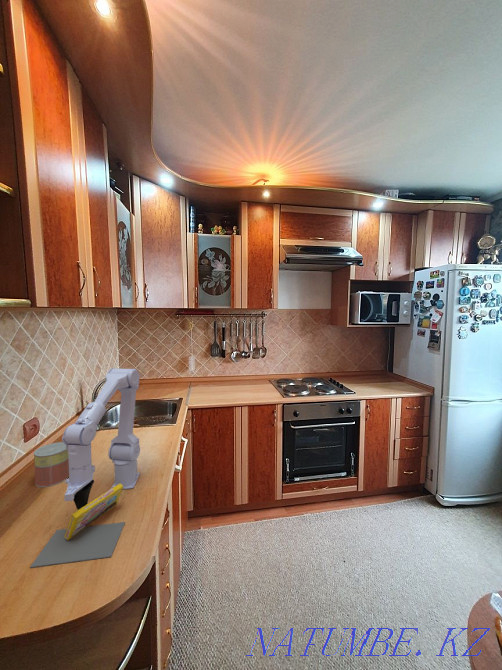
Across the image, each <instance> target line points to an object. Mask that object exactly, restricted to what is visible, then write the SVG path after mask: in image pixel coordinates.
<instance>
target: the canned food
mask: <svg viewBox="0 0 502 670" xmlns="http://www.w3.org/2000/svg"><path fill="white" fill-rule="evenodd" d="M33 461H34V463H33V464H34V478H35V479H34V482H35V483H34V485H35V486H36V487H38V488H47V487H53V486H56V485H59V484H61V483H63V482H65V481H66V480H67V478H68V477H69V460H68V450H67V449H66V445H65V444H64V443H63V441H59V442H53V443H52V442H51V443H48V444H46V445H42V446H40V447H39V448H37V449H35V451H33Z"/></svg>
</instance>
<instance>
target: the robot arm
mask: <svg viewBox="0 0 502 670" xmlns="http://www.w3.org/2000/svg"><path fill="white" fill-rule="evenodd" d="M104 381H105V382H104V383H103V384H104V385H102V388H101V390H100V391H99V393H98V395H97V396H96V398H95V400H94V401H92V402H89V403H88V404H87V405H86V406H85V408H84V410H82V412H81V414H80V415H79V416H78V417H77V419H76V420H75V422H74V423H72V424H70V425H68V426H67V427H66V428H65V430H64V432H63V435H62V437H61V442H63V443H64V444H65V445H66V449H67V450H68V460H69V478H68V479H66V480H65V481H64V484H65V485H67V488H66V491H65V493H64V495H63V496H64V502H71V501H73V502H74V505H75V507H76V509H77V510H76V511H78V510H79V509H81V508H82V507H84V506H85V505H87V504H88V503H89V498H90V494H91V490H92V488H93V485H94V483H95V479H94V473H95V471H96V466H95V464H94V465H93V462H92V459H93V458H92V441H94V440H95V438H96V432H97V429H98V425H99V422H100V421H101V420H102V418H103V416H104V415H105V413H106V411H107V410H106V405H107V404H108V402H110V400H111V399H112V397H114V395H115V393H116V392H117V391H119V392H120V394H121V395H120V407H119V419H118V430H117V436H115V437H113V438H112V439H111V441H110V446H109V448H108V453H107V455H108V458H109V460H111V462H112V463H113V466H114V467H113V468H114V469H113V470H114V483H112V484H113V485H112V486H111V487H110V489H112V488H113V487H115V486H116V485H118V484H120V483H121V484H122V485H123V489H122V490H126V489H127V490H128V489H129V490H130V489H134V488H135V486H136V484H137V482H138V479H139V477H140V475H141V473H140V472H138V458H139V456H140V452H141V447H140V438H139V437H137V436H136V435H135V434H134V433H133V432H134V424H135V421H134V420H135V412H136V411H135V410H136V397H137V390H139V386H140V373H139V371H138V369H136V368H115V367H111V368H110V369H108V371H107V374H105V377H104Z"/></svg>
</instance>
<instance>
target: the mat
mask: <svg viewBox="0 0 502 670" xmlns="http://www.w3.org/2000/svg"><path fill="white" fill-rule="evenodd" d="M125 523H126V521H120V522H113V523H104V524H95V525H89V526H87V527H86V528H84V529H83V530H82V531H80V532H79V533H77V534H76V535H75V536H73V537H72V538H70V539H69V540H67V539H66V538H65V537H64V536H65V534H66V531H67V528H61V529H56V530H55V531H54V533H53V534H52V536H51V537H50V539H49V540H48V541H47V543H46V544H45V545H44V547H43V548H42V550H41V551H40V552H39V554H37V556H36V558H35V560H33V562H32V564H31V565H29V569H34V568H40V567H41V568H42V567H49V566H50V567H51V566H55V565H63V564H71V563H79V562H87V561H95V560H100V559H108V558H112V556H113V553H114V551H115V548H116V546H117V544H118V543H119V539H120V536H121V534H122V531H123V529H124V526H125Z"/></svg>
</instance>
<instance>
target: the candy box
mask: <svg viewBox="0 0 502 670" xmlns="http://www.w3.org/2000/svg"><path fill="white" fill-rule="evenodd" d="M111 488H112V487H111ZM111 488H110V489H109V490H107V491H105V492H104V493H102V494H101V495H99V496H98V497H96V498H95V499H93V500H92V501H90V502H88V504H87V505H85V506H84V507H82V508H81V509H79V510H76V511H74V512H73V513H72V514H71V517H70V519H69V523H68V526H67V528H66V529H67V531H66V534H65V536H64V537H65V538H66V539H67V540H69V539H70V538H72V537H73V536H75V535H76V534H77V533H79V532H80V531H82V530H83V529H84V528H86V527H87V526H91V525H92V524H93V523H95V521H97V520H98V519H100V518H101V517H103V516H104V515H105V514H107V513H108V512H110V510H112V509H114V508H115V507H116V506H117V505H118V502H119V499H120V496H121V494H122V491H123V490H124V489H123V485H122V484H121V483H120V484H118V485H116V486H115V487H113V488H112V489H111Z"/></svg>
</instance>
